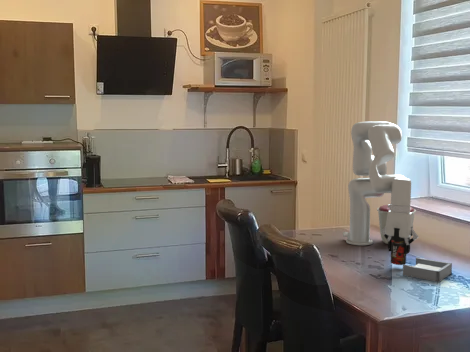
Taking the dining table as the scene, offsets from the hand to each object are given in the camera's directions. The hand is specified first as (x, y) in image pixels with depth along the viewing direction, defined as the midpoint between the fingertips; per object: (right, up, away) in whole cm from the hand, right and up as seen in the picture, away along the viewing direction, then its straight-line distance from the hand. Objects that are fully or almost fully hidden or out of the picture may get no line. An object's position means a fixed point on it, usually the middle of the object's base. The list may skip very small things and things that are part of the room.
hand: (398, 251), depth 219 cm
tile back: (+8, -8, -5) cm, 12 cm away
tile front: (+11, -8, -9) cm, 17 cm away
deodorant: (0, -5, +1) cm, 5 cm away
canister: (+11, -2, +43) cm, 44 cm away
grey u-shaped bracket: (+9, -8, -7) cm, 13 cm away
